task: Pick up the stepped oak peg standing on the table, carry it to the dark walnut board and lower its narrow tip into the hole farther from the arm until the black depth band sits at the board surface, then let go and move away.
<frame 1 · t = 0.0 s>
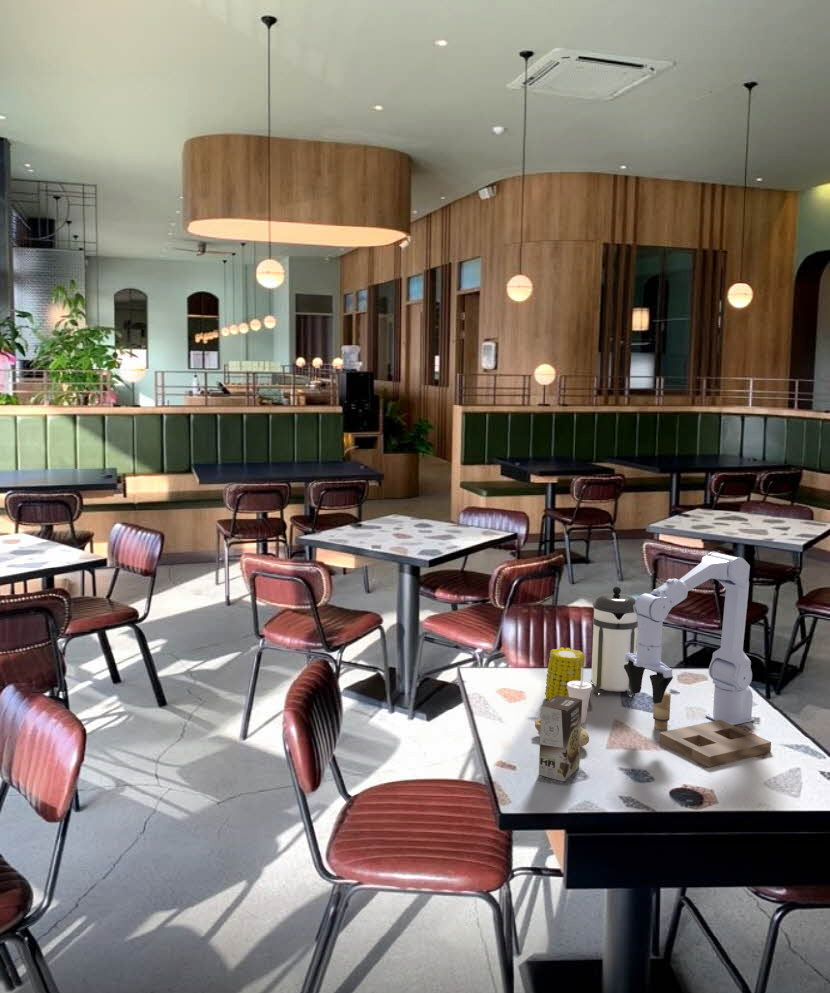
hand: (646, 697, 223), 10 cm above the table, tool pointing down, fingers open, 7 cm apart
coffee press: (610, 689, 259), on the table
walnut board: (714, 747, 218), on the table
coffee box: (559, 772, 203), on the table
oak peg: (660, 728, 230), on the table
oil lamp: (560, 744, 219), on the table
food: (563, 701, 249), on the table
smoothie: (577, 721, 234), on the table
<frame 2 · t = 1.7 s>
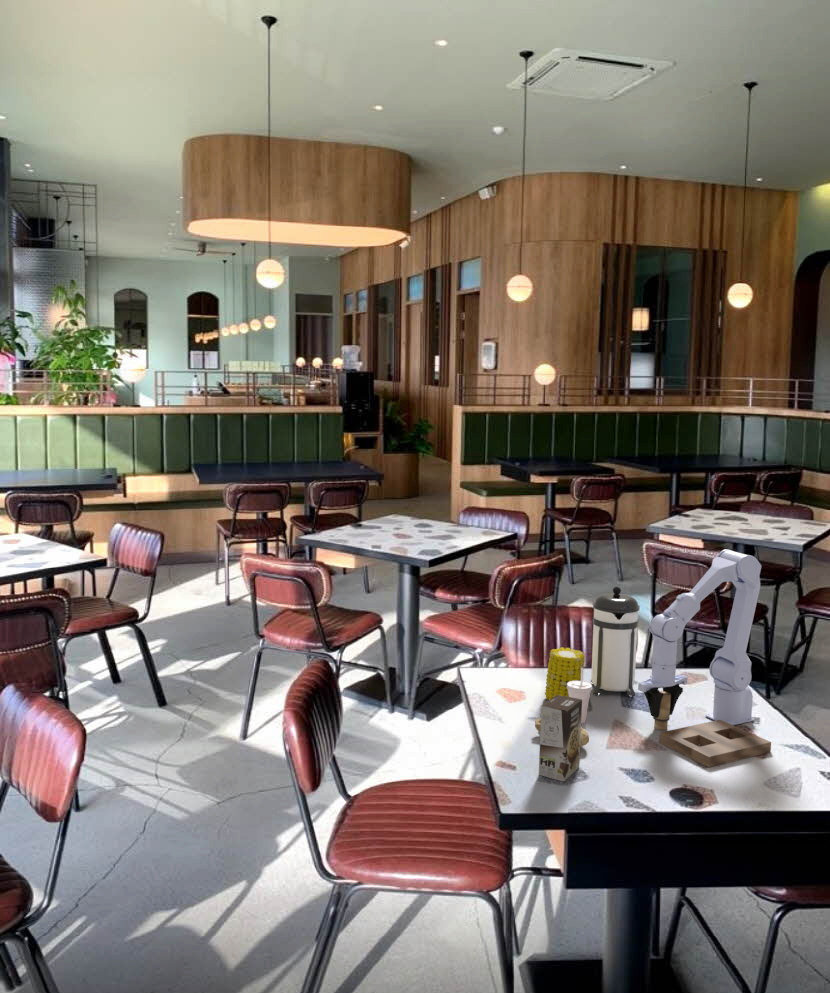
hand: (661, 715, 230), 3 cm above the table, tool pointing down, fingers closed on oak peg, 4 cm apart
oak peg: (660, 728, 230), on the table, touching gripper
everything else where it was.
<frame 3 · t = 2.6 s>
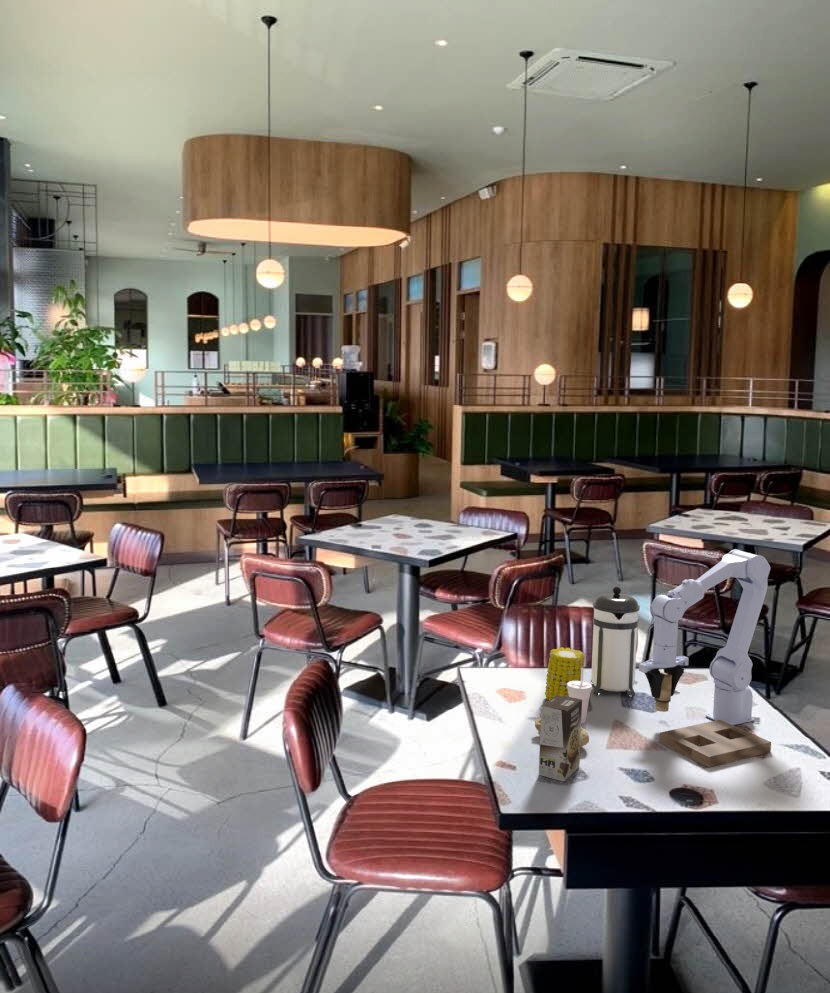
hand: (662, 696, 229), 8 cm above the table, tool pointing down, fingers closed on oak peg, 4 cm apart
oak peg: (661, 709, 230), point 5 cm above the table, touching gripper
everything else where it was.
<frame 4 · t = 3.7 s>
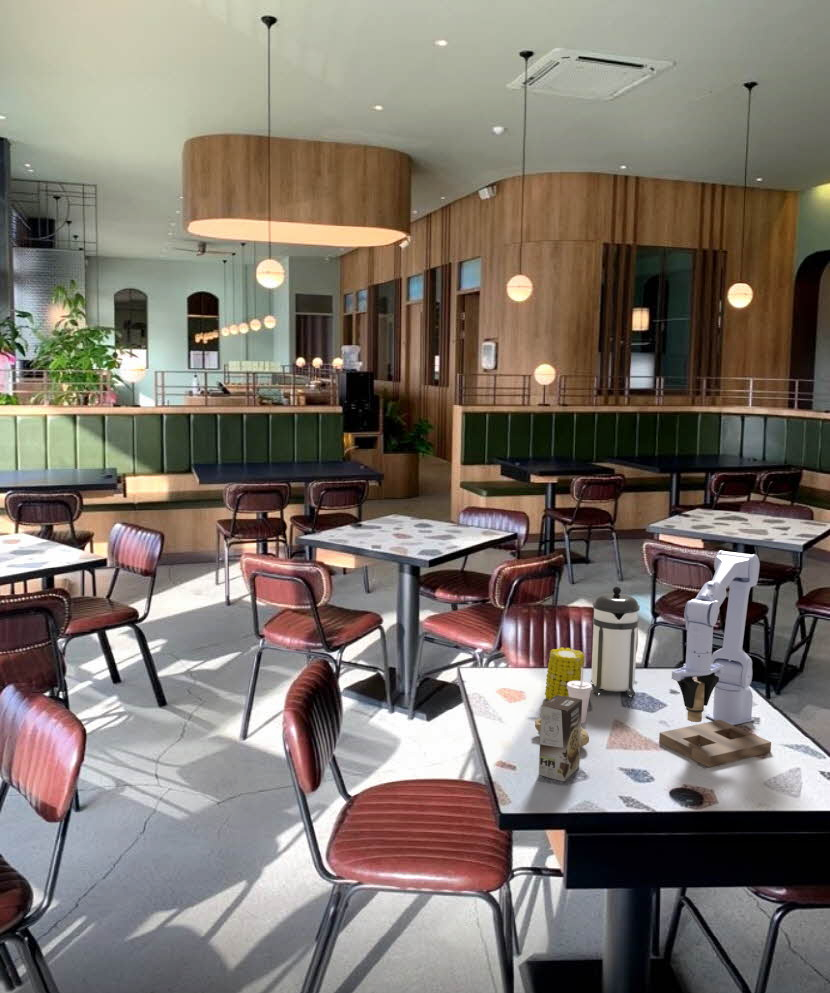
hand: (695, 705, 216), 10 cm above the table, tool pointing down, fingers closed on oak peg, 4 cm apart
oak peg: (694, 719, 217), point 7 cm above the table, touching gripper
everything else where it was.
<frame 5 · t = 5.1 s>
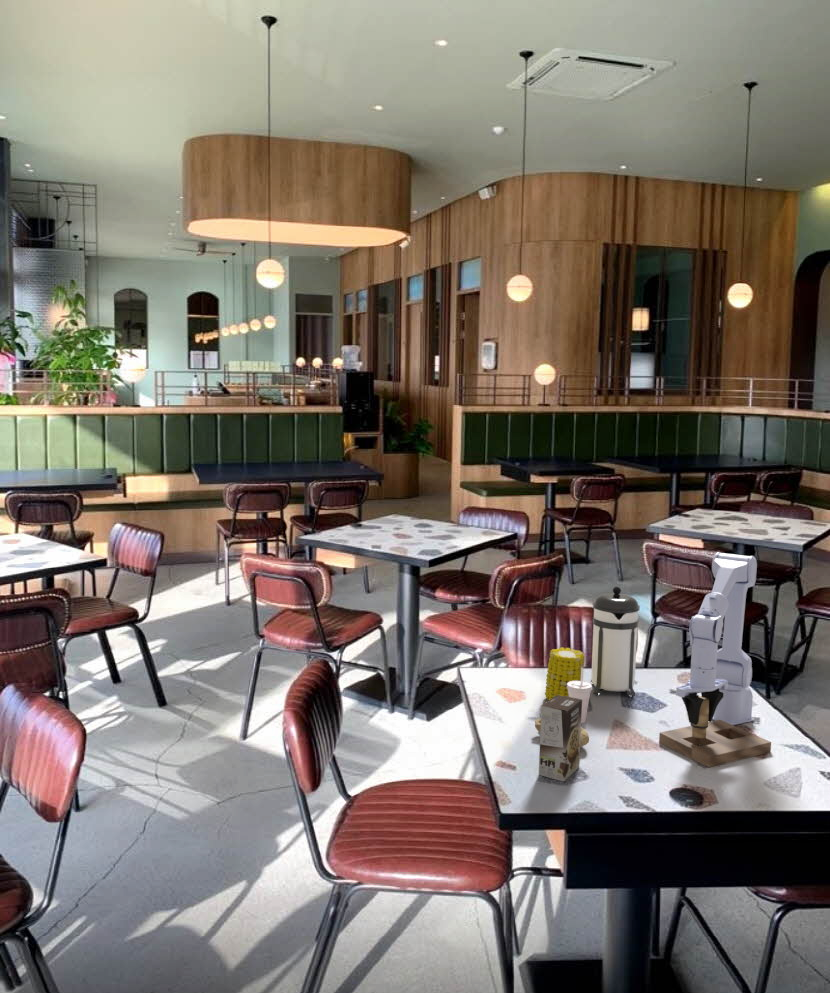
hand: (700, 721, 215), 7 cm above the table, tool pointing down, fingers closed on oak peg, 4 cm apart
oak peg: (699, 735, 216), point 4 cm above the table, touching gripper
everything else where it was.
when the fingers open (4 cm above the table, at t = 6.1 s): oak peg stays where it is, resting in walnut board.
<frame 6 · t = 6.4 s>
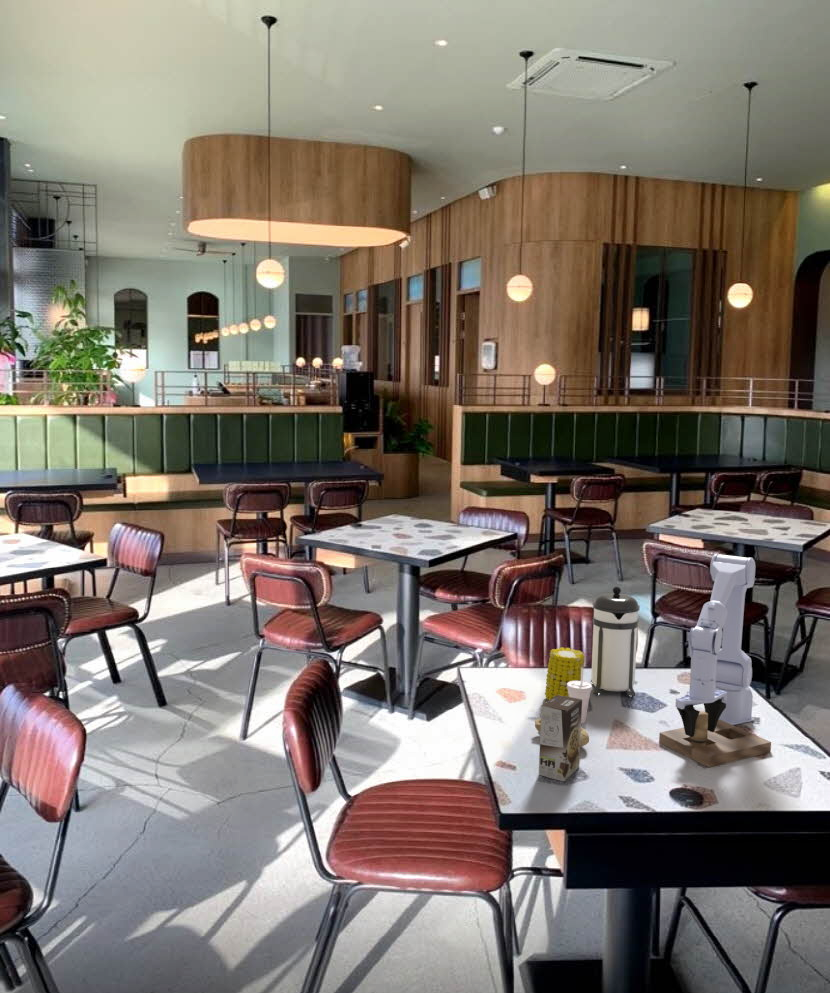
hand: (699, 733, 215), 4 cm above the table, tool pointing down, fingers open, 6 cm apart
oak peg: (698, 750, 216), resting in walnut board
everything else where it was.
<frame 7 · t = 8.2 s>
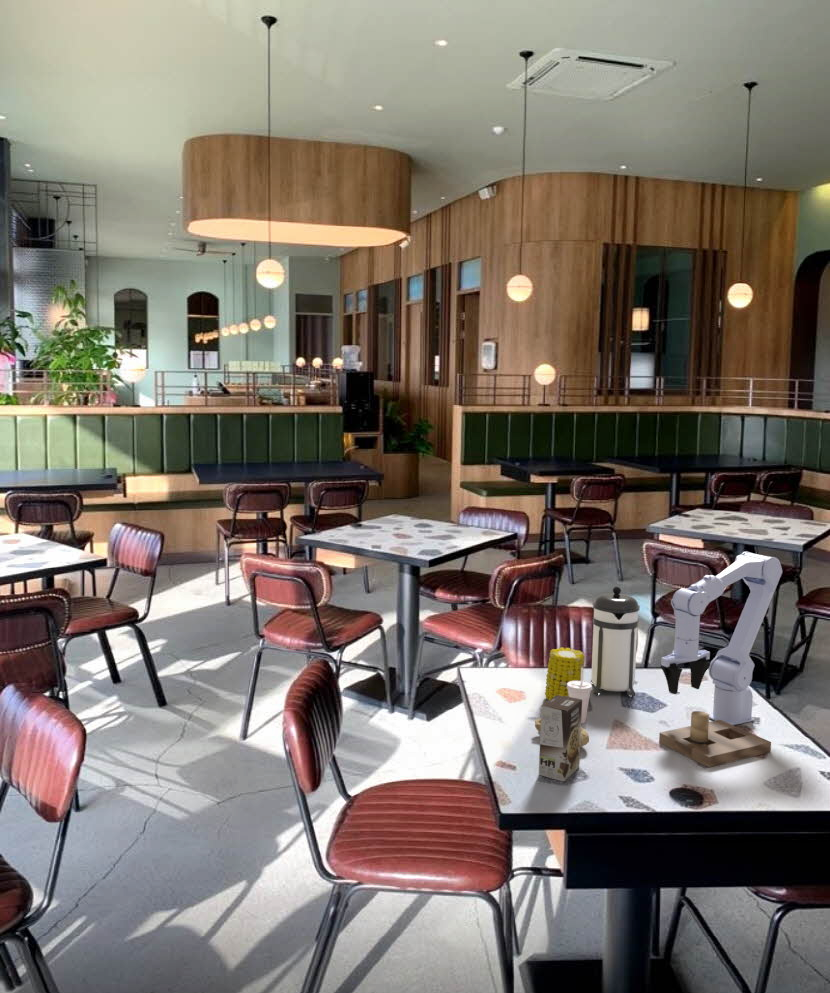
hand: (684, 690, 228), 10 cm above the table, tool pointing down, fingers open, 7 cm apart
nothing on the table moved.
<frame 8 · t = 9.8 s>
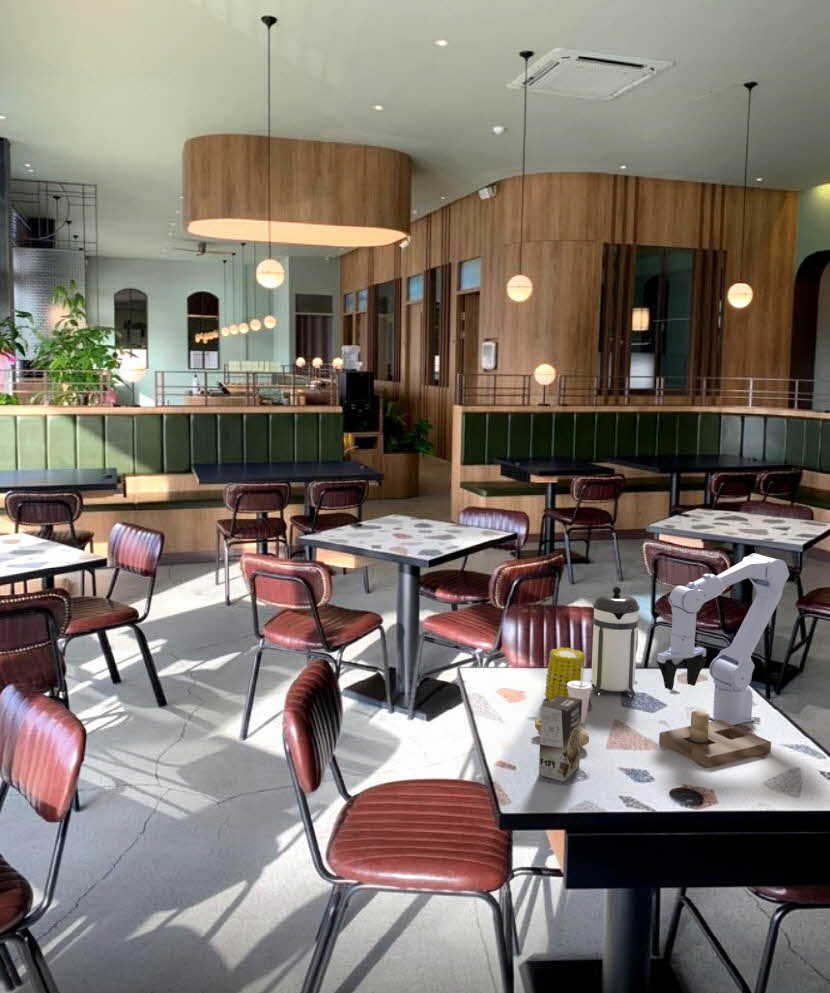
hand: (680, 686, 230), 10 cm above the table, tool pointing down, fingers open, 7 cm apart
nothing on the table moved.
at the end: oak peg 0.2 cm from the target spot on the walnut board, point 0.0 cm above the walnut board's base; oak peg tilted 0°; the gripper is holding nothing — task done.
